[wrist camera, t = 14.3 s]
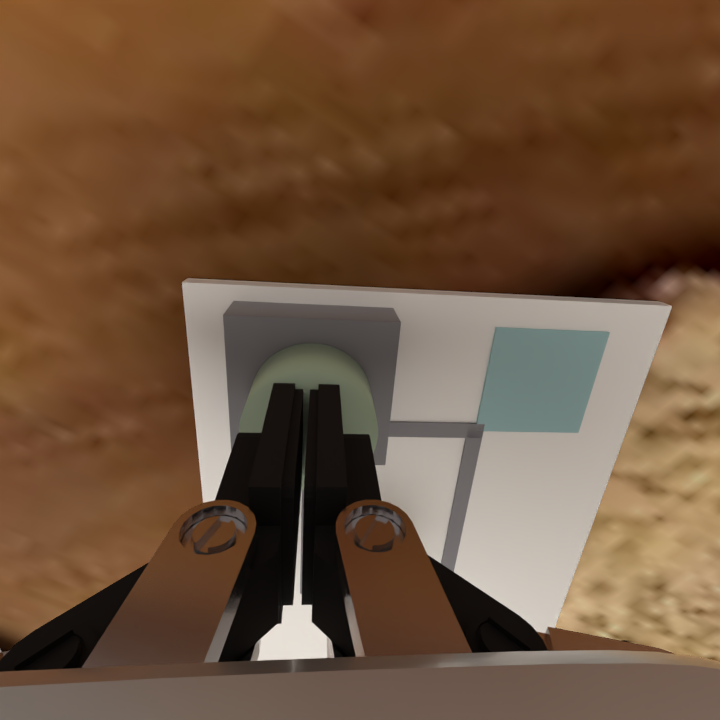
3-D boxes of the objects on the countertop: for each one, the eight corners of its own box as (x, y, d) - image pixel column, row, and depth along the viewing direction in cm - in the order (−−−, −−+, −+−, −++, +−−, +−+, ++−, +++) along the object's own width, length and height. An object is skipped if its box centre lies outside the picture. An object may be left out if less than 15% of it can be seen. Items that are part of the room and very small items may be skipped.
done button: (375, 345, 12) (384, 374, 10) (366, 449, 14) (372, 490, 12) (249, 340, 12) (235, 370, 10) (253, 447, 13) (241, 490, 12)
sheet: (659, 301, 15) (674, 306, 14) (522, 688, 23) (528, 702, 23) (188, 277, 13) (180, 283, 13) (226, 701, 22) (223, 717, 21)
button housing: (393, 307, 14) (400, 322, 12) (379, 439, 16) (385, 465, 14) (233, 300, 13) (222, 315, 12) (240, 437, 15) (231, 463, 14)
